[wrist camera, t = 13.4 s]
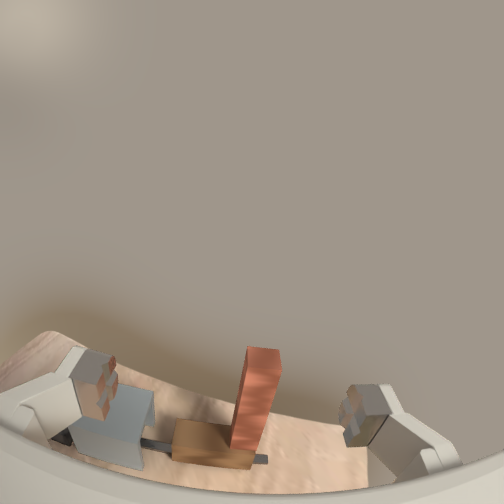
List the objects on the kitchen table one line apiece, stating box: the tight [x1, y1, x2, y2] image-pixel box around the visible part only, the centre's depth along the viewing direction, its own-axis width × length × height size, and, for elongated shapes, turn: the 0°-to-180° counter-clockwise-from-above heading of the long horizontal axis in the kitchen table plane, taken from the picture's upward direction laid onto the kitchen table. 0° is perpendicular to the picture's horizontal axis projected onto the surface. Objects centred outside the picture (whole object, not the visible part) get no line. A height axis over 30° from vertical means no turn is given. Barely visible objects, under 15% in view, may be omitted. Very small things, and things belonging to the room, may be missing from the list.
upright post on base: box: [171, 346, 282, 470], centre depth 32 cm, size 10×4×18 cm, turn 91°
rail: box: [140, 438, 268, 464], centre depth 34 cm, size 26×1×1 cm, turn 91°
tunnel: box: [68, 383, 155, 471], centre depth 33 cm, size 9×9×7 cm
